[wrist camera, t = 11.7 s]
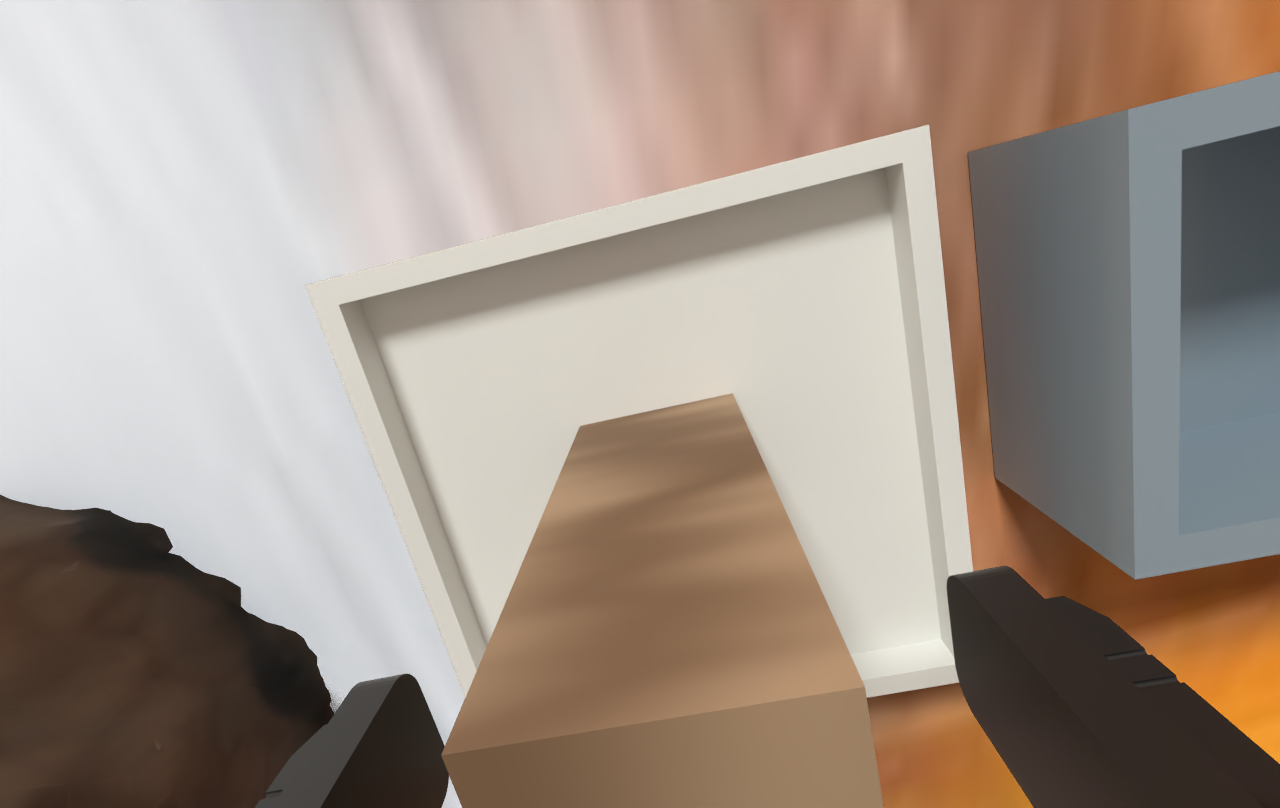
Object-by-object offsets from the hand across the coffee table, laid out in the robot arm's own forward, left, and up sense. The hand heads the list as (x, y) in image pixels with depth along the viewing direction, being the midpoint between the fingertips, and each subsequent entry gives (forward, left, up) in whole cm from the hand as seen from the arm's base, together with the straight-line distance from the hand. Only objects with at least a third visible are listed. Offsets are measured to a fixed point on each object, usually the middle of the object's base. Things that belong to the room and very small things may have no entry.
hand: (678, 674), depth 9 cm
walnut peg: (0, 0, -7) cm, 7 cm away
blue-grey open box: (-13, -2, -8) cm, 15 cm away
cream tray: (0, 0, -8) cm, 8 cm away
